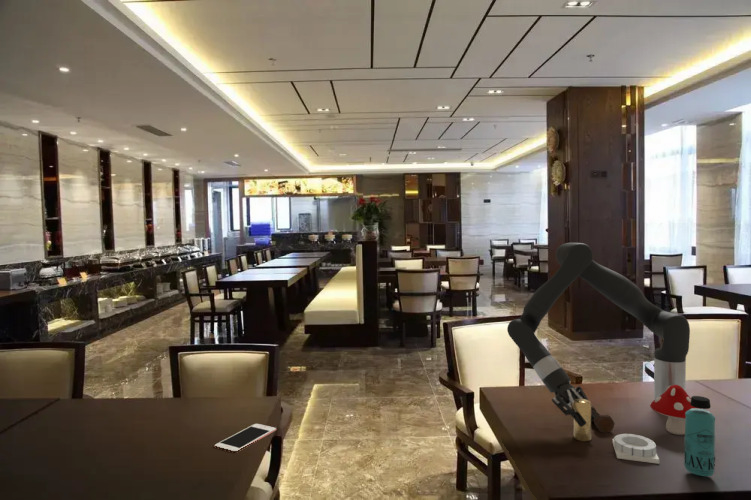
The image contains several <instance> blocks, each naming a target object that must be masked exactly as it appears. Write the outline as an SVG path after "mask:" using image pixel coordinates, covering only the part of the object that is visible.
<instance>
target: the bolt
mask: <svg viewBox="0 0 751 500" xmlns="http://www.w3.org/2000/svg"><path fill="white" fill-rule="evenodd" d="M591 412H592V414H593V415H594V416H595V418H596V419H595V420H593V421H592V422H593V423H594V425H595V427H596V428H597V430H598V431H599V432H600V433H611V432H612V431H613V429H614V427H615V422H614V420H613V419H612V417H611V416H610V415H609V414H601V413H599V412H598V411H597V410H596V409H595V407H594V406H593V405H591Z"/></svg>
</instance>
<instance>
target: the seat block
mask: <svg viewBox="0 0 751 500" xmlns="http://www.w3.org/2000/svg"><path fill="white" fill-rule="evenodd" d="M611 440H612V445H613V448H614V452H615V456H616V458H617V459H618V460H619V459H622V460H627V461H636V462H644V463H651V464H658V465H659V464H660V458H659V456H658V453H657V445H656V443H655V442H654V440H652V439H650V438H648V437H646V436H642V435H639V434H634V433H619V434H617V435H615V436H614V437H613V438H612V439H611Z"/></svg>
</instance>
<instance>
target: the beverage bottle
mask: <svg viewBox="0 0 751 500" xmlns="http://www.w3.org/2000/svg"><path fill="white" fill-rule="evenodd" d="M690 398H691V403H690V404H691V406H693V407H696V408H692V409H690V410H688V411H686V413H685V415H686V417H685V419H684V420H685V434H684V442H683V443H684V444H683V445H684V447H683V449H684V451H683V452H684V454H683V459H684V460H683V466H684V469H685V470H686V471H687V472H689V473H691V474H693V475H696V476H702V477H712V476H713V475H714V474H715V471H716V469H715V467H716V463H715V461H716V450H715V449H716V435H715V434H716V417H715V415H714V414H713V413H712V412H710V411H709V409H711V400H710V399H709V398H708V397H705V396H700V395H693V396H690ZM698 408H701V409H698Z"/></svg>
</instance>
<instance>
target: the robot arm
mask: <svg viewBox="0 0 751 500" xmlns="http://www.w3.org/2000/svg"><path fill="white" fill-rule="evenodd" d="M555 259H556V261H557V263H558V265H560V267H559V268H558V269H557V271H556V272H555V273H554V274H553V275H552V277H550V278H549V279H548V280H547V281H546V282H545V283H543V284H542V285H541V286H540V287H538V288H537V289H536V291H534V293H533V295H532V296H531V297H530V298H529V300H528V301H527V302H526V304H525V305H524V307H523V311H522V314H521V315H520V317H519V318H514V319H512V320H511V321H510V322H509V323H508V325H507V333H508V336H509V337H510V339H511V340H512V341H513V342H514V344H515V345H516V346H517V347H518V349H520V351H521V352H522V354H523V355H524V357H525V359H526V360H527V361H528V363H529V364H530V365H531V367H532V368H533V369H534V371H535V374H537V376H538V377H539V379H540V380H541V382H542V383H543V384H544V386H545V387H546V389H547V390H548V391H549V392H550V393H551V394H552V393H554V395H555V396H554V397H553V398H552V399H551V401H552V403H554V405H555V406H556V408H558V409H559V410H560V411H561V412H562V413H563V414H564V415H565V416H566V417H567V416H571V417H572V419H573V420H574V419H575V421H576V422H577V423H578V424H579V426H580V427H582V426H584V425H585V424H586V421H585V420H584V418H583V417H582V416H581V414H580V413H579V412H577V409H576V407H575V403H574V399H586V400H589V398H588V397H587V395H586V394H585V391H584V390H583V388H582V387H581V386H580V385H578V386H577V387H575V386H573V385H572V384H571V383H570V382H571V377H570V376H569V375H568V374H567V372H566V371H565V369H564V368H563V367H562V366H561V364H560V363H559V362H558V361H557V359H556V358H555V357H553V355H552V354H551V353H550V351H549V350H548V349H547V348H546V346H545V345H544V344H543V343H542V342H541V341H540V340H539V339H538V337H537V336H536V334H535V333H536V331H537V329H538V328H539V325H540V323H541V322H542V321H543V319H544V318H545V316H546V315H547V313H549V311H551V308H552V307H553V306H554V304H555V303H556V301H557V300H558V299H559V298H560V297H561V296H562V294H563V293H564V292H565V291H566V290H567V288H568V287H570V285H572V283H574V282H575V280H576V279H577V278H578V277H579V278H581V279H582V280H584V281H585V282H587V283H588V284H589V285H590V286H591V287H592V288H594V289H595V290H596V291H597V292H599V293H600V294H602V296H604V297H605V298H606V299H607V300H609V301H611V302H612V303H613V304H615V305H616V306H618V307H619V308H620V309H621V310H624V311H625V312H627V313H628V314H630V315H632V316H633V317H634V318H636V319H637V320H638V321H639V322H640V323H642V325H644V326H645V327H646V329H648V330H649V331H650V332H651V333H653V334H654V335H656V336H657V337H659V338H662V345H661V347H658V348H655V349H654V353H653V358H654V359H653V364H654V365H653V366H654V368H653V371H654V373H653V374H654V378H653V380H654V381H653V387H654V388H653V391H654V392H653V401H654V400H655V399H656V398H658V397H659V396H660V395H662V394H663V393H664V392H665V391H666V389H667V387H669V386H671V385H679V386H681V387H682V388H683V389H684V390H685V392H686V393H687V390H686V389H687V387H686V385H687V384H686V383H687V381H686V379H687V378H686V377H687V375H686V370H687V369H686V368H687V365H686V362H687V355H688V354H689V349H690V335H691V334H690V333H691V329H690V322H689V321H688V319H687V318H686V317H685V316H684V315H681V314H677V313H674V312H669V311H666V310H664V309H662V308H659V307H658V306H656V305H655V304H653V303H652V302H651V301H649V300H648V298H646V296H645V294H644V293H643V291H642V289H640V287H639V286H637V285H636V284H635V283H634V282H633V281H632V280H630V279H628V278H627V277H626V276H625V275H622V274H620V273H618V272H617V271H614V270H612V269H610V268H608V267H605V266H604V265H601V264H599V263H597V262H596V261H595V260H594V252H593V250H592V248H591V247H590V246H589V245H588V244H586V243H582V242H566V243H562V244H561V245H559V246H558V247H557V248H556V251H555ZM595 419H596V418H595V416H594V415H593V414H592V412H591V423H592V422H593V420H595Z"/></svg>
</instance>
